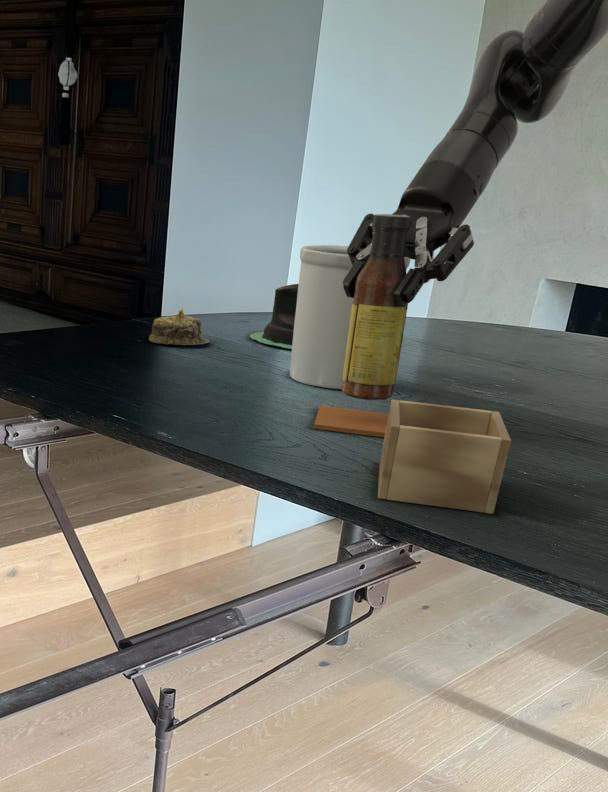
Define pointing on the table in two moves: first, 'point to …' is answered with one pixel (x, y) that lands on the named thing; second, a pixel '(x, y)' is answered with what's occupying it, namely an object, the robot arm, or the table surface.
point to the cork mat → (351, 421)
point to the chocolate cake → (281, 319)
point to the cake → (177, 330)
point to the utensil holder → (322, 316)
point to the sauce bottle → (377, 314)
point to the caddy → (443, 456)
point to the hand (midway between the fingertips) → (372, 296)
